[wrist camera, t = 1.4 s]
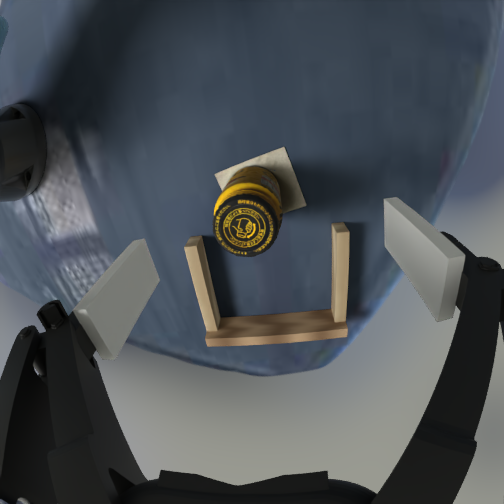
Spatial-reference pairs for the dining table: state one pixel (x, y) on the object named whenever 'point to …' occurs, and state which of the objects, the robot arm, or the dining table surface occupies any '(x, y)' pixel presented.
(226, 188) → the condiment
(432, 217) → the dining table surface
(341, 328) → the bay
